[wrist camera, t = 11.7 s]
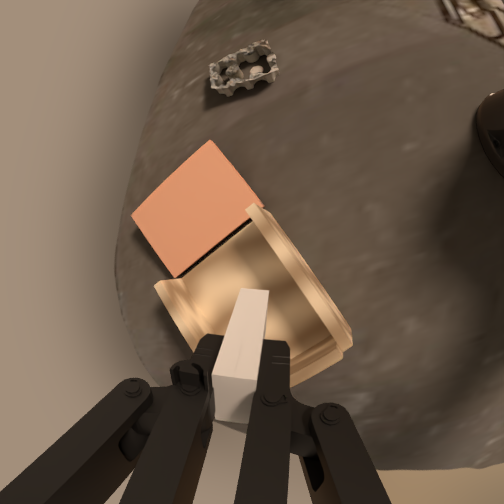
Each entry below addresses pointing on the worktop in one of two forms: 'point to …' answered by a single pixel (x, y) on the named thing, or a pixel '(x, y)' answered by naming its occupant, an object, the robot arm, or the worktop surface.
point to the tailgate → (195, 208)
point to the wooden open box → (279, 301)
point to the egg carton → (236, 74)
